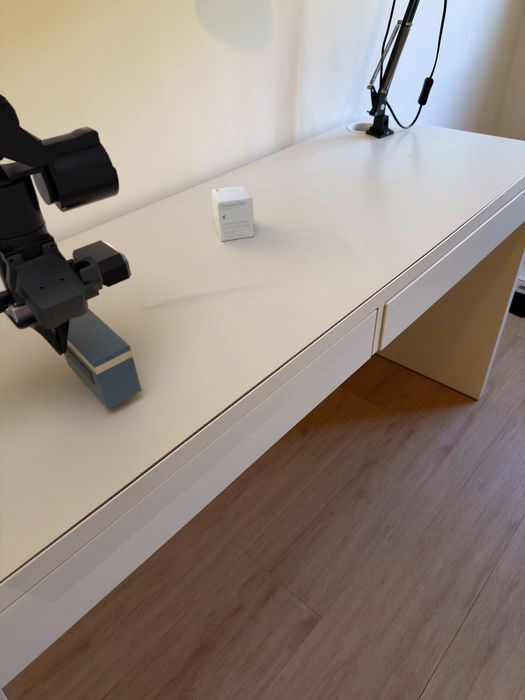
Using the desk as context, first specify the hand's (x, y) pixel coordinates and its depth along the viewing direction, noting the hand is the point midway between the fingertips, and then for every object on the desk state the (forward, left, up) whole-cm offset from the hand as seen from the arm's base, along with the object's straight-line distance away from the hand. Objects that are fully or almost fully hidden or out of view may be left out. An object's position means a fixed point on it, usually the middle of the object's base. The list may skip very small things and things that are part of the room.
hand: (61, 352), depth 60 cm
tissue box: (+2, +3, -3) cm, 5 cm away
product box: (+4, +44, -6) cm, 45 cm away
